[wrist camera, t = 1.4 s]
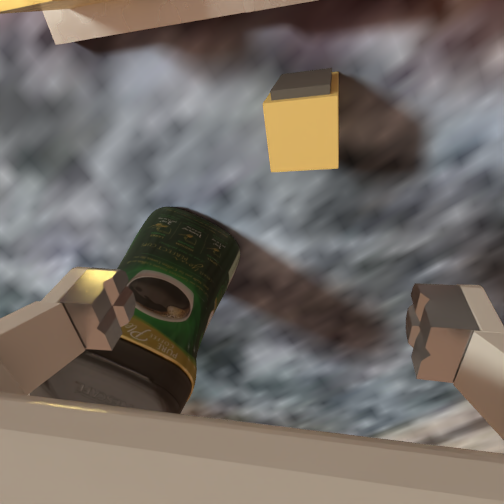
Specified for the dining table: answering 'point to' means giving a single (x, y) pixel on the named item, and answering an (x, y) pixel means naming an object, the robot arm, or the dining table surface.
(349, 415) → the dining table surface
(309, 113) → the yellow block grey top
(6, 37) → the dining table surface
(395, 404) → the dining table surface
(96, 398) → the coffee jar
